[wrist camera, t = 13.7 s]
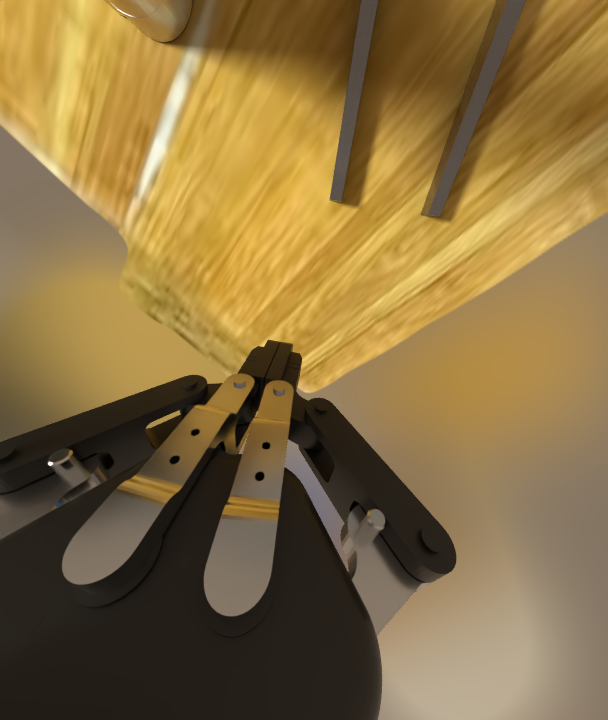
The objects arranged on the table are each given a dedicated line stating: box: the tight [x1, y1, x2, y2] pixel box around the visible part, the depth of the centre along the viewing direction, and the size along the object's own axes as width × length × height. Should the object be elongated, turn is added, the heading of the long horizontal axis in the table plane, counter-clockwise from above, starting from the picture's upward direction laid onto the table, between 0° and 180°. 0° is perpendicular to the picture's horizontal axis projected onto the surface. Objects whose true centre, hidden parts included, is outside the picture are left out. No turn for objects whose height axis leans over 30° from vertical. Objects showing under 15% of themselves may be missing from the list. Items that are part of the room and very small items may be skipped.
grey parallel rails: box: [330, 0, 526, 217], centre depth 25 cm, size 15×20×3 cm
